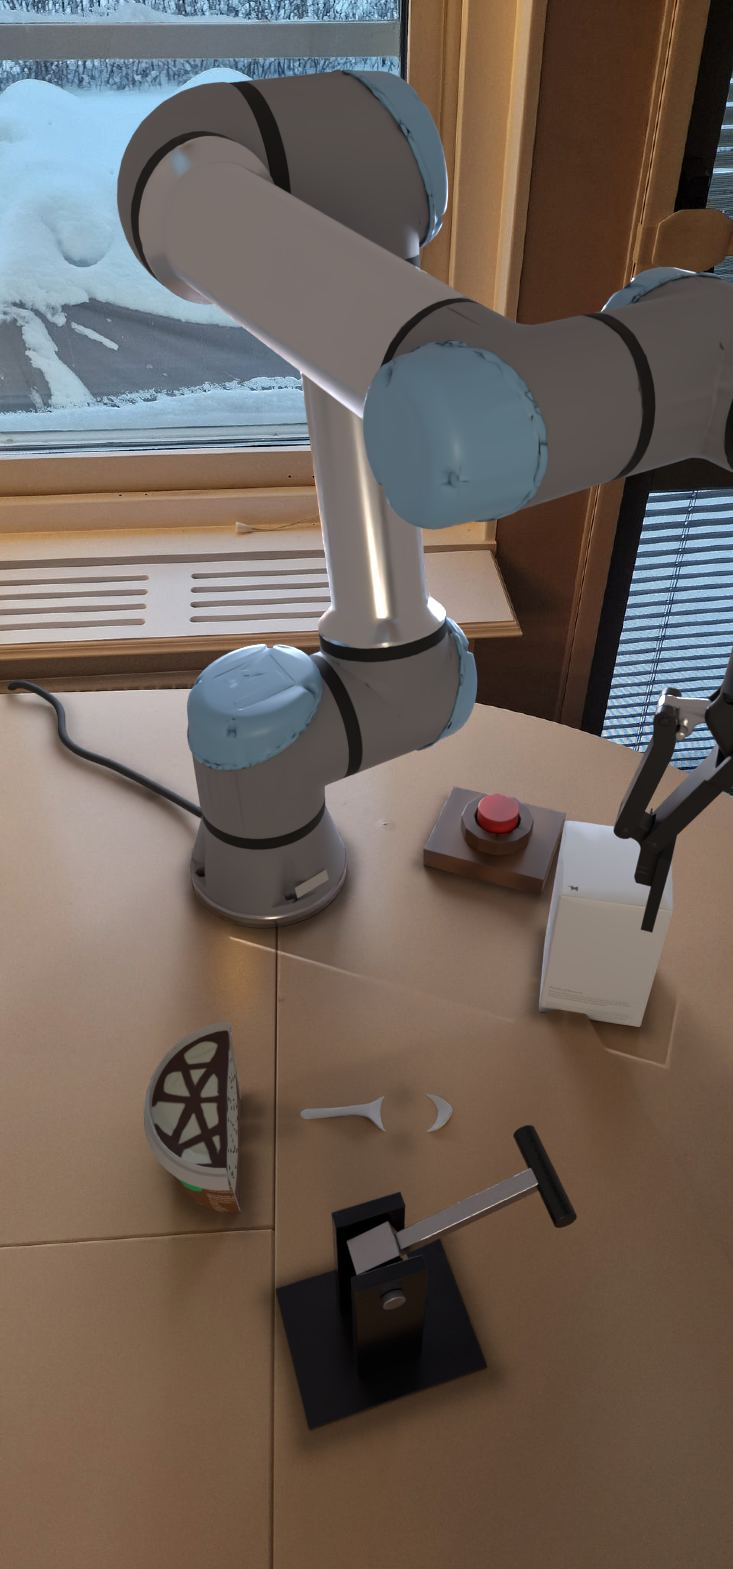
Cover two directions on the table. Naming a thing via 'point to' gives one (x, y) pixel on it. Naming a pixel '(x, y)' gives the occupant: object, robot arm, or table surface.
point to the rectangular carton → (601, 929)
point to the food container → (198, 1116)
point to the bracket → (376, 1324)
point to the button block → (495, 843)
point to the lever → (469, 1209)
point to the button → (498, 814)
